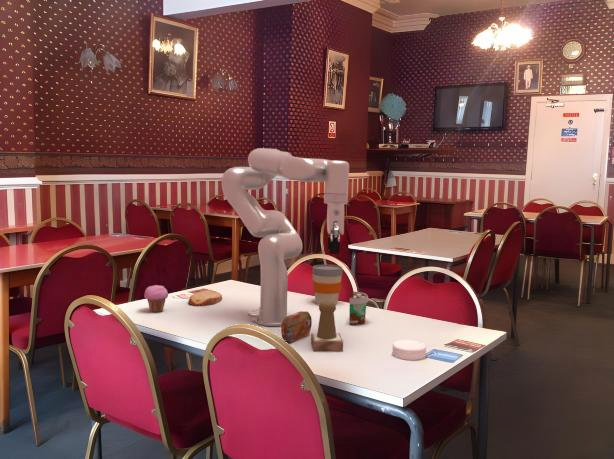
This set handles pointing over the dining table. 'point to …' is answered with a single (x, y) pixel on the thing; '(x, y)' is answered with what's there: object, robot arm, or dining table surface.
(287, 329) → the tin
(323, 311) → the cork
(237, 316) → the dining table surface
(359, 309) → the food container
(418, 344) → the white round disc
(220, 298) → the bread slice
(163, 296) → the cupcake
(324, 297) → the reusable coffee cup
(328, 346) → the plinth
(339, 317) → the dining table surface
